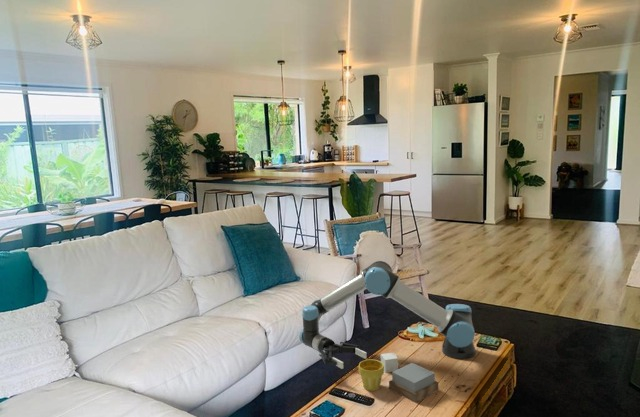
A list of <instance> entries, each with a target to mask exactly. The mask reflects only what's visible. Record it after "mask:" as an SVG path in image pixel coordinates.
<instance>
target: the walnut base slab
mask: <svg viewBox="0 0 640 417" xmlns="http://www.w3.org/2000/svg"><path fill="white" fill-rule="evenodd" d="M388 389H389V390H390V391H392V392H393V393H396V394H398V395H400V396H401V397H404V398H406V399H408V400H409V401H411V402H413V403H415V404H417V403H418V402H420V401H421V400H423V399H425V398H427V397H429V396H431V395H433V394H434V393H436V392H438V391H439V382H438V381H436V380H435V382H434V383H433V384H431V385H429V386H427V387H425V388H423V389H421V390H419V391H417V392H415V393H414V392H412V391H410V390H408V389H407V388H405V387H403V386H401V385H399V384H397V383H395V382H393V381H392V379H391V380H389V381H388Z"/></svg>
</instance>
